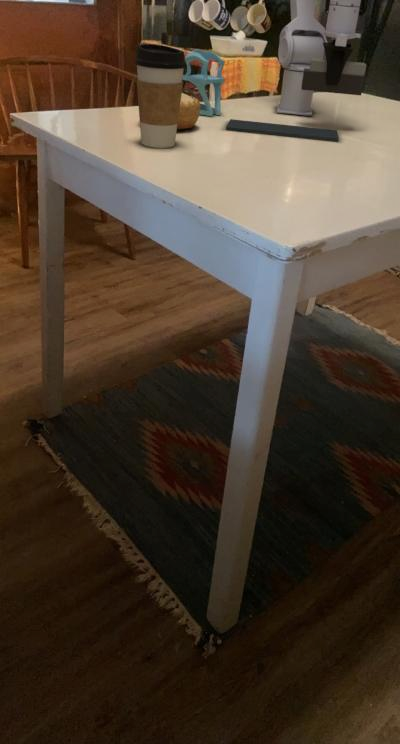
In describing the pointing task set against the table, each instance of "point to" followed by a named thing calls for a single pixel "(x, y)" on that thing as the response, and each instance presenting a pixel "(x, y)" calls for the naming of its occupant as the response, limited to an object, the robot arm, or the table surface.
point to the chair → (206, 80)
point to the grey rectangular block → (347, 84)
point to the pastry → (188, 112)
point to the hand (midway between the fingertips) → (331, 83)
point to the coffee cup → (159, 93)
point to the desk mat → (283, 130)
